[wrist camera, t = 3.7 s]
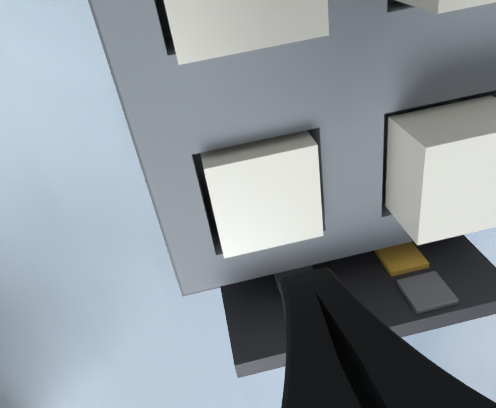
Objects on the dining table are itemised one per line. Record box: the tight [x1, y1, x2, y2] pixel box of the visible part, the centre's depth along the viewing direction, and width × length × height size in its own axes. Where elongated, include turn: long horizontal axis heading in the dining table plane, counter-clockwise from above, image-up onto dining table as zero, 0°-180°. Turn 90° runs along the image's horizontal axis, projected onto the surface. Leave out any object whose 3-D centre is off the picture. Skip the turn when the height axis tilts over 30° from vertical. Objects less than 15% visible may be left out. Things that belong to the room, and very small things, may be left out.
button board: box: [88, 0, 496, 378], centre depth 16 cm, size 16×18×6 cm
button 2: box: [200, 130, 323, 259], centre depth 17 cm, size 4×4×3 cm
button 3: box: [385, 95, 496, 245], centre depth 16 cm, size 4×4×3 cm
